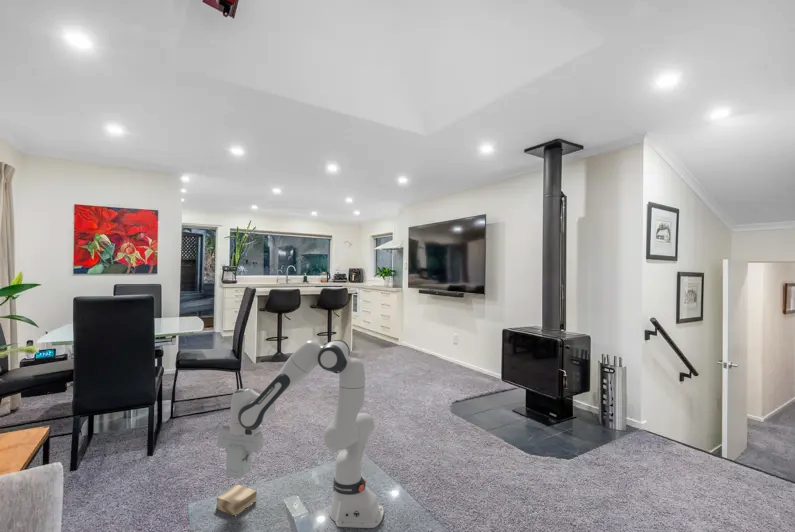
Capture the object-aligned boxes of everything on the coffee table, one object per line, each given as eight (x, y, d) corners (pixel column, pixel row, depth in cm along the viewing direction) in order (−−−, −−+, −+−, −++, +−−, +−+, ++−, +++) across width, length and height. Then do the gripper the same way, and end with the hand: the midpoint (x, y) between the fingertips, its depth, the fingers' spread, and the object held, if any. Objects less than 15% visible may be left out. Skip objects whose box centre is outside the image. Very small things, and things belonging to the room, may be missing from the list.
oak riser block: (256, 502, 159) (256, 490, 159) (235, 517, 149) (236, 504, 149) (237, 496, 163) (238, 484, 164) (216, 509, 153) (216, 497, 154)
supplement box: (240, 479, 152) (242, 448, 153) (225, 476, 154) (226, 446, 155) (251, 470, 160) (252, 441, 160) (236, 468, 161) (237, 439, 162)
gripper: (214, 426, 157) (212, 459, 156) (257, 432, 153) (255, 466, 152) (224, 421, 163) (222, 453, 162) (265, 426, 159) (264, 459, 158)
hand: (239, 459), depth 157 cm, fingers closed on supplement box, 7 cm apart
